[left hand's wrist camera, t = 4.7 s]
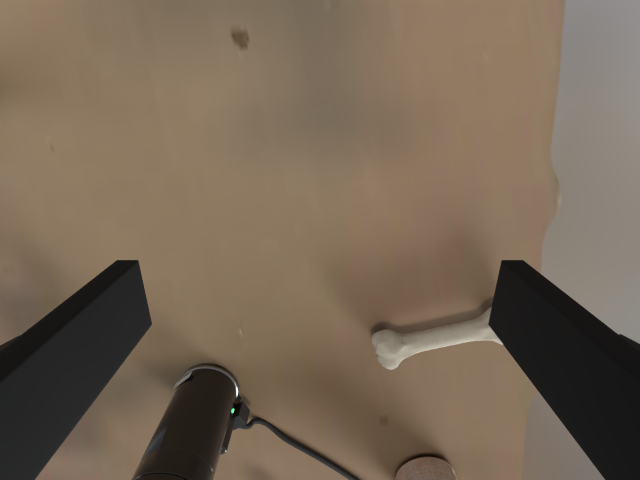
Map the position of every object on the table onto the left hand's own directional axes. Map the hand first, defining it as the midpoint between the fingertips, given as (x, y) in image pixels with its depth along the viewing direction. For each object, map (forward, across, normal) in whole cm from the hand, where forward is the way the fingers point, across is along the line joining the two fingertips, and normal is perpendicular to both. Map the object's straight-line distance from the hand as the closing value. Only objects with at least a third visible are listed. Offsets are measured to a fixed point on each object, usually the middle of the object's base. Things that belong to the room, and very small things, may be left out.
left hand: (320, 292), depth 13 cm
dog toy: (+32, +18, -25) cm, 45 cm away
